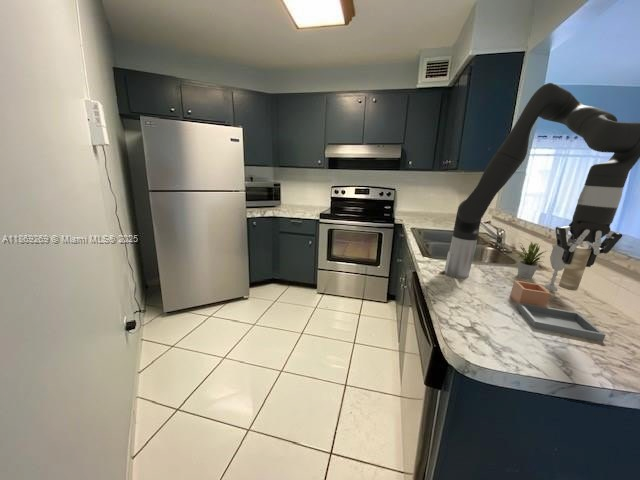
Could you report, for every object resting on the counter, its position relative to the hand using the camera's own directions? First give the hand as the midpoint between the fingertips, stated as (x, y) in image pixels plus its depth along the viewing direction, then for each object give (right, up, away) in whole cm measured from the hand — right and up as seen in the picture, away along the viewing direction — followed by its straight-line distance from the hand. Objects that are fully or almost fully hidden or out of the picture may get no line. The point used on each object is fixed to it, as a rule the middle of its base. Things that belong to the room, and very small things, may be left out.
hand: (576, 264), depth 72 cm
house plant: (+21, -9, +45) cm, 51 cm away
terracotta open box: (0, -16, +17) cm, 23 cm away
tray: (-1, -19, +5) cm, 20 cm away
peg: (0, -7, +2) cm, 7 cm away
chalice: (+20, -13, +30) cm, 39 cm away
